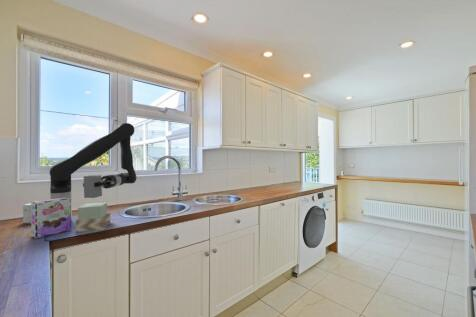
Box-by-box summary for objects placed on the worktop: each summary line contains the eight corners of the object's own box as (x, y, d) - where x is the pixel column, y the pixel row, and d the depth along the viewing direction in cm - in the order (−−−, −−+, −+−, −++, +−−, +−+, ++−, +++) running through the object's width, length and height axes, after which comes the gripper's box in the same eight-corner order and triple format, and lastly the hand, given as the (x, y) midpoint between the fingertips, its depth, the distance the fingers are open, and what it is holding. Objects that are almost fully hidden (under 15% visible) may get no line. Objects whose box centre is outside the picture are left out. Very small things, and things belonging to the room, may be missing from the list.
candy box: (35, 239, 99) (34, 202, 99) (30, 236, 102) (30, 201, 102) (71, 230, 111) (70, 197, 110) (66, 228, 114) (65, 196, 114)
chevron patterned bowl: (75, 232, 108) (75, 220, 108) (85, 225, 120) (85, 214, 120) (103, 230, 111) (102, 218, 111) (110, 223, 123) (110, 212, 123)
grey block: (84, 197, 113) (83, 176, 113) (92, 195, 118) (91, 175, 118) (94, 197, 112) (93, 176, 112) (101, 195, 118) (101, 175, 117)
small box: (45, 220, 128) (45, 202, 128) (35, 223, 123) (35, 204, 123) (33, 220, 129) (32, 202, 129) (22, 223, 124) (22, 204, 124)
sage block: (78, 219, 109) (77, 207, 109) (86, 214, 119) (86, 203, 119) (100, 218, 112) (100, 206, 112) (107, 213, 121) (106, 202, 121)
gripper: (99, 174, 130) (75, 177, 113) (122, 174, 129) (102, 177, 112) (99, 187, 130) (76, 192, 113) (122, 187, 129) (102, 192, 112)
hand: (89, 185), depth 113 cm, fingers closed on grey block, 5 cm apart
